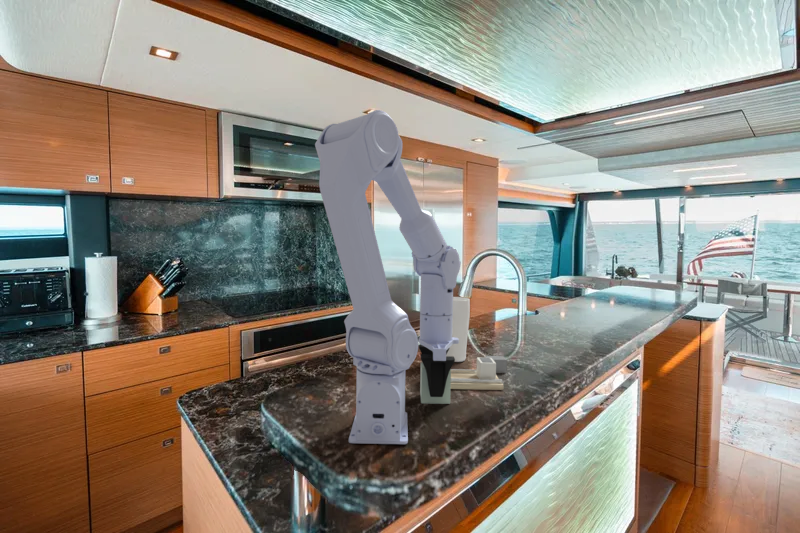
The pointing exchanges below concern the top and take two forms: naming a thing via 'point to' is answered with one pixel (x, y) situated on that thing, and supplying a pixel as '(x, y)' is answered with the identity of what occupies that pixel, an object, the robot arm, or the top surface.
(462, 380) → the din rail
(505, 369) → the block
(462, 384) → the rail panel
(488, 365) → the mounted modules
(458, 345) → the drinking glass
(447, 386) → the box
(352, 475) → the top surface
